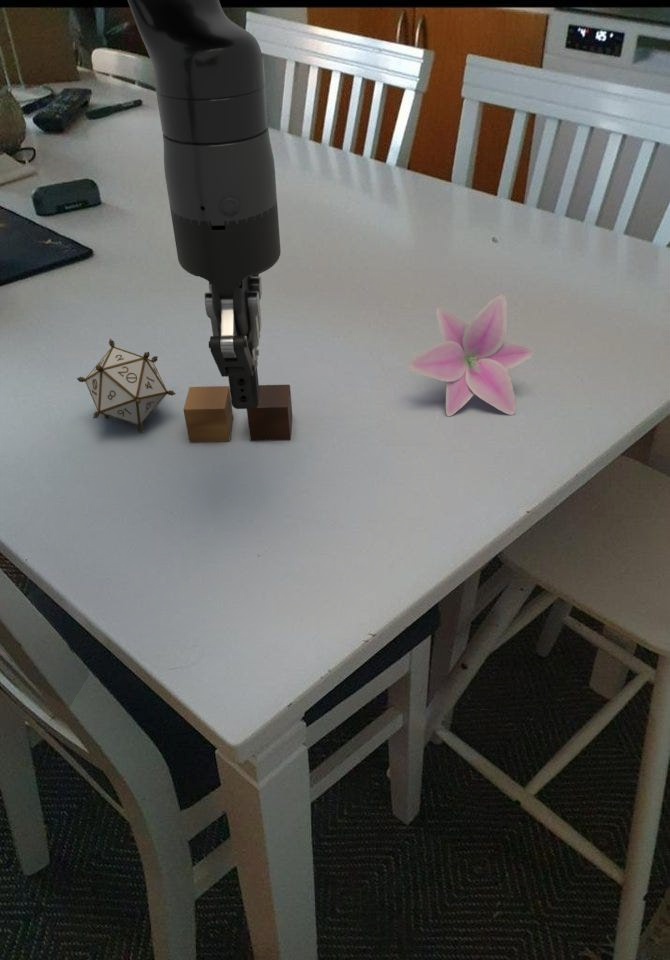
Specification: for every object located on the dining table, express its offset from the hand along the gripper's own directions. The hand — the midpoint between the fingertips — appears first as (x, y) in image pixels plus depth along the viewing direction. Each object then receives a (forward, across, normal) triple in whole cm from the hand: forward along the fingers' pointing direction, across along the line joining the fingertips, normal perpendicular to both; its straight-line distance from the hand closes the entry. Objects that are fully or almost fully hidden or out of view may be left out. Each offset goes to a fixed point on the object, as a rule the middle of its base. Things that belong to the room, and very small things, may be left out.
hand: (246, 404), depth 68 cm
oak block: (+10, -10, -5) cm, 15 cm away
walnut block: (+10, -10, +1) cm, 14 cm away
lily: (+10, -15, +21) cm, 28 cm away
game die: (+10, -13, -14) cm, 21 cm away
